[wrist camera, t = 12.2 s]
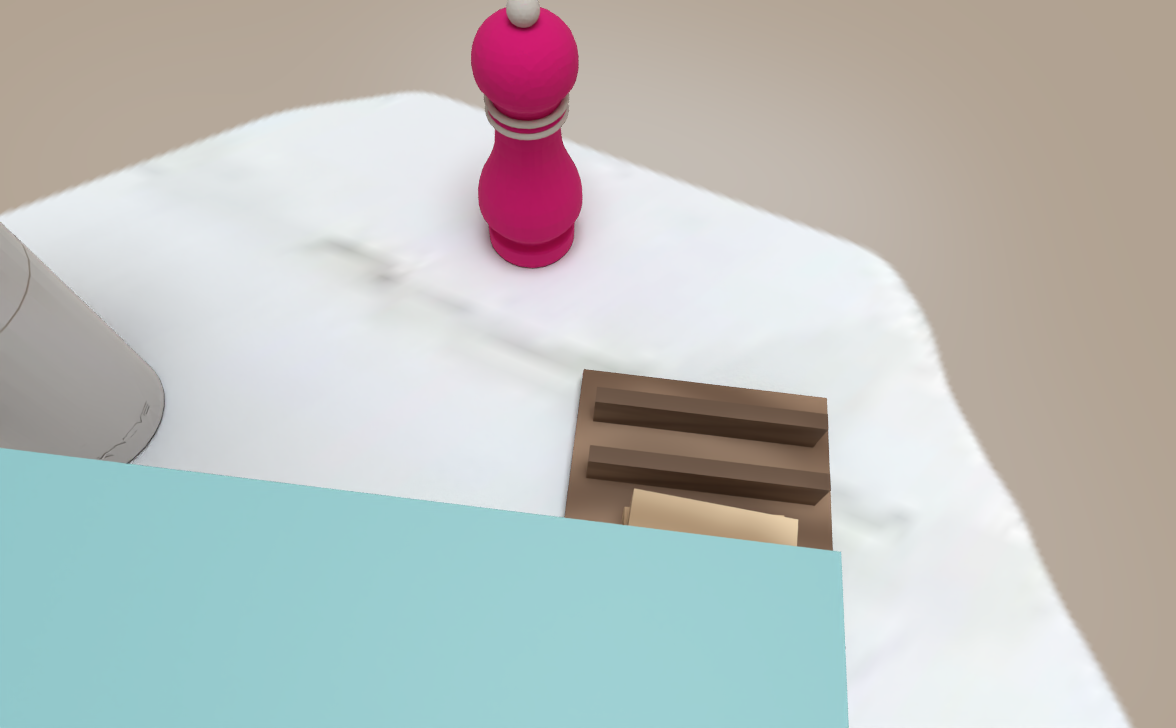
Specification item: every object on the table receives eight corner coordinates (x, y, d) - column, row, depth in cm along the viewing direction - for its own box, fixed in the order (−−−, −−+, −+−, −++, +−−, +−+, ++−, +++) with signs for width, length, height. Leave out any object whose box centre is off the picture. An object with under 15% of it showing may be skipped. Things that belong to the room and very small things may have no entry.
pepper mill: (524, 181, 58) (511, -69, 41) (599, 227, 57) (620, -13, 39) (463, 241, 56) (421, 0, 38) (540, 291, 54) (534, 64, 36)
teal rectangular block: (624, 801, 16) (857, 945, 4) (349, 765, 16) (-300, 793, 4) (632, 700, 17) (840, 551, 5) (371, 667, 17) (-93, 435, 5)
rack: (828, 679, 43) (857, 671, 39) (548, 644, 43) (548, 632, 39) (819, 407, 50) (842, 377, 46) (582, 379, 51) (585, 347, 47)
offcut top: (785, 618, 40) (793, 614, 38) (617, 585, 40) (619, 580, 39) (790, 527, 42) (798, 519, 41) (631, 496, 42) (634, 488, 41)
